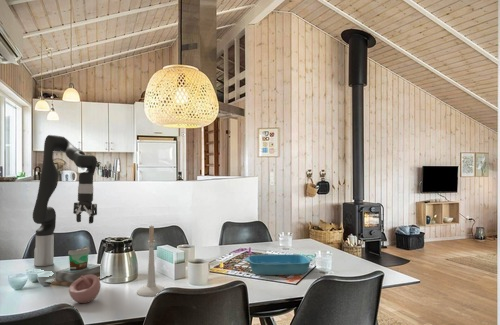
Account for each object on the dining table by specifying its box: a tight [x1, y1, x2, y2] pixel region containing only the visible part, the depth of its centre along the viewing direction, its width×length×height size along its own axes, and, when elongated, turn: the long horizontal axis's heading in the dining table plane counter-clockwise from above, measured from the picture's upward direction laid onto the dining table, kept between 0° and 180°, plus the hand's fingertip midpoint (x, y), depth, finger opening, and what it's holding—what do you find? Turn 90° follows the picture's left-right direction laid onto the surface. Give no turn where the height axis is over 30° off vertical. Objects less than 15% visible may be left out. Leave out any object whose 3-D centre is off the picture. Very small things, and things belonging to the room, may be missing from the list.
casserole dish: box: [244, 253, 313, 276], centre depth 207 cm, size 37×22×7 cm, turn 95°
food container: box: [67, 245, 91, 270], centre depth 191 cm, size 12×6×10 cm, turn 165°
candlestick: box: [136, 225, 166, 298], centre depth 172 cm, size 13×13×30 cm
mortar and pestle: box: [68, 274, 101, 304], centre depth 158 cm, size 12×12×12 cm
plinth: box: [51, 263, 102, 287], centre depth 192 cm, size 22×22×5 cm
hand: (84, 222), depth 202 cm, fingers open, 8 cm apart
